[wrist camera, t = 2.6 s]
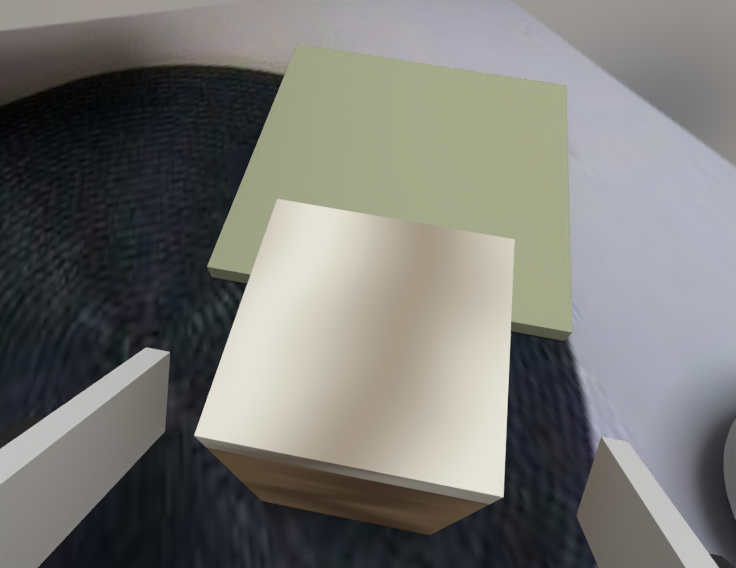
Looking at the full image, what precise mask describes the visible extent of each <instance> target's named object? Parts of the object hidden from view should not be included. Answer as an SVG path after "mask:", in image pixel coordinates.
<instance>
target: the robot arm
mask: <svg viewBox="0 0 736 568" xmlns="http://www.w3.org/2000/svg"><path fill="white" fill-rule="evenodd" d="M169 362H170V352H167V351H162V350H157V349H152V348H145V349H143V350H142V351H140V352H139V353H138V354H136V355H135V356H133V357H132V358H130V359H129V360H128V361H126V362H125V363H123V364H122V365H120V366H119V367H117V368H116V369H115V370H113V371H112V372H110V373H109V374H107V375H106V376H104V377H103V378H102V379H100V380H99V381H97V382H96V383H94V384H93V385H92V386H90V387H89V388H87V389H86V390H84V391H83V392H81V393H80V394H79V395H77V396H76V397H74V398H73V399H71V400H70V401H68V402H67V403H66V404H64V405H63V406H61V407H60V408H58V409H57V410H56V411H54V412H53V413H51V414H50V415H48V416H47V417H45V418H42V417H37V416H33V417H30V418H28V419H25V420H22V421H20V422H17V423H14V424H12V425H10V426H8V427H7V428H5V429H4V430H2V431H1V432H0V568H38V567H39V566H40V564H41V563H42V562H43V561H44V560H45V559H46V558H47V557H48V556H49V555H50V554H51V553H52V552H53V551H54V549H55V548H56V547H57V546H58V545H59V544H60V543H61V542H62V541H63V540H64V539H65V538H66V537H67V536H68V534H69V533H70V532H71V531H72V530H73V529H74V528H75V527H76V526H77V525H78V524H79V523H80V522H81V521H82V519H83V518H84V517H85V516H86V515H87V514H88V513H89V512H90V511H91V510H92V509H93V508H94V507H95V506H96V504H97V503H98V502H99V501H100V500H101V499H102V498H103V497H104V496H105V495H106V494H107V493H108V492H109V491H110V489H111V488H112V487H113V486H114V485H115V484H116V483H117V482H118V481H119V480H120V479H121V478H122V477H123V476H124V474H125V473H126V472H127V471H128V470H129V469H130V468H131V467H132V466H133V465H134V464H135V463H136V462H137V461H138V459H139V458H140V457H141V456H142V455H143V454H144V453H145V452H146V451H147V450H148V449H149V448H150V447H151V446H152V444H153V443H154V442H155V441H156V440H157V439H158V438H159V437H160V436H161V435H162V434H163V433H164V432H165V422H166V407H167V392H168V377H169ZM577 518H578V520H579V523H580V525H581V527H582V530H583V532H584V534H585V537H586V539H587V541H588V544H589V546H590V548H591V551H592V553H593V555H594V557H595V560H596V562H597V564H598V567H599V568H735V567H734V566H733V565H731V564H730V563H729V562H728V561H727V560H726V559H724V558H723V557H722V556H718V555H713V554H709V553H708V552H707V550H706V549H705V548H704V546H703V545H702V543H701V542H700V541H699V539H698V538H697V537H696V535H695V534H694V532H693V531H692V530H691V528H690V527H689V526H688V524H687V523H686V521H685V520H684V519H683V517H682V516H681V514H680V513H679V512H678V510H677V509H676V508H675V506H674V505H673V503H672V502H671V501H670V499H669V498H668V496H667V495H666V494H665V492H664V491H663V490H662V488H661V487H660V485H659V484H658V483H657V481H656V480H655V479H654V477H653V476H652V474H651V473H650V472H649V470H648V469H647V467H646V466H645V465H644V463H643V462H642V461H641V459H640V458H639V456H638V455H637V454H636V452H635V451H634V449H633V448H632V447H631V445H630V444H629V443H628V442H627V441H621V440H616V439H611V438H606V437H601V439H600V443H599V446H598V449H597V452H596V455H595V458H594V462H593V465H592V468H591V471H590V474H589V477H588V481H587V484H586V487H585V490H584V493H583V497H582V500H581V503H580V506H579V509H578V512H577Z"/></svg>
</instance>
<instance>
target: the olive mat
mask: <svg viewBox="0 0 736 568" xmlns="http://www.w3.org/2000/svg"><path fill="white" fill-rule="evenodd" d="M277 199H282V200H288V201H294V202H299V203H305V204H311V205H317V206H323V207H329V208H334V209H340V210H346V211H352V212H358V213H364V214H369V215H375V216H381V217H387V218H393V219H399V220H404V221H410V222H416V223H422V224H428V225H434V226H439V227H445V228H451V229H457V230H463V231H469V232H474V233H480V234H486V235H492V236H498V237H504V238H509V239H515V245H514V268H513V291H512V313H511V331H512V332H518V333H523V334H529V335H535V336H540V337H546V338H551V339H557V340H562V341H565V339H566V338H567V337H568V336H569V335H570V334H571V333H572V309H571V265H570V222H569V179H568V136H567V92H566V85H560V84H553V83H547V82H540V81H534V80H527V79H521V78H514V77H508V76H501V75H495V74H488V73H482V72H475V71H469V70H462V69H456V68H449V67H443V66H436V65H430V64H423V63H417V62H410V61H404V60H397V59H391V58H384V57H378V56H371V55H365V54H358V53H352V52H345V51H339V50H332V49H326V48H319V47H313V46H306V45H300V44H297V46H296V49H295V51H294V53H293V56H292V58H291V61H290V63H289V66H288V68H287V71H286V73H285V76H284V78H283V81H282V83H281V86H280V88H279V90H278V93H277V95H276V98H275V100H274V103H273V105H272V108H271V110H270V113H269V115H268V118H267V120H266V123H265V125H264V128H263V130H262V132H261V135H260V137H259V140H258V142H257V145H256V147H255V150H254V152H253V155H252V157H251V160H250V162H249V165H248V167H247V170H246V172H245V174H244V177H243V179H242V182H241V184H240V187H239V189H238V192H237V194H236V197H235V199H234V202H233V204H232V207H231V209H230V211H229V214H228V216H227V219H226V221H225V224H224V226H223V229H222V231H221V234H220V236H219V239H218V241H217V244H216V246H215V249H214V251H213V253H212V256H211V258H210V261H209V263H208V266H207V268H208V270H209V272H210V274H211V277H214V278H220V279H225V280H231V281H236V282H242V283H248V281H249V278H250V275H251V272H252V269H253V266H254V263H255V261H256V258H257V255H258V252H259V249H260V246H261V243H262V241H263V238H264V235H265V232H266V229H267V226H268V223H269V221H270V218H271V215H272V212H273V209H274V206H275V204H276V201H277Z"/></svg>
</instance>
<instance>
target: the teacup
mask: <svg viewBox="0 0 736 568" xmlns="http://www.w3.org/2000/svg"><path fill="white" fill-rule="evenodd" d="M724 480H725V486H726V492H727V496H728V499H729V503H730V506H731V509H732V512H733V515H734V518H735V520H736V418H735V420H734V422H733V423H732V425H731V428H730V431H729V434H728V437H727V440H726V444H725V449H724Z"/></svg>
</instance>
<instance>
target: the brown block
mask: <svg viewBox="0 0 736 568" xmlns="http://www.w3.org/2000/svg"><path fill="white" fill-rule="evenodd" d="M514 245H515V239H509V238H504V237H498V236H492V235H486V234H480V233H474V232H469V231H463V230H457V229H451V228H445V227H439V226H434V225H428V224H422V223H416V222H410V221H404V220H399V219H393V218H387V217H381V216H375V215H369V214H364V213H358V212H352V211H346V210H340V209H334V208H329V207H323V206H317V205H311V204H305V203H299V202H294V201H288V200H282V199H277V201H276V204H275V206H274V209H273V212H272V215H271V218H270V221H269V223H268V226H267V229H266V232H265V235H264V238H263V241H262V243H261V246H260V249H259V252H258V255H257V258H256V261H255V263H254V266H253V269H252V272H251V275H250V278H249V281H248V283H247V286H246V289H245V292H244V295H243V298H242V300H241V303H240V306H239V309H238V312H237V315H236V318H235V320H234V323H233V326H232V329H231V332H230V335H229V338H228V340H227V343H226V346H225V349H224V352H223V355H222V358H221V360H220V363H219V366H218V369H217V372H216V375H215V378H214V380H213V383H212V386H211V389H210V392H209V395H208V397H207V400H206V403H205V406H204V409H203V412H202V415H201V417H200V420H199V423H198V426H197V429H196V432H195V435H194V436H195V437H196V438H197V439H198V440H199V441H200V442H201V443H202V444H203V445H204V446H205V447H206V448H207V449H208V450H209V451H210V452H212V453H213V454H214V455H215V456H216V457H217V458H218V459H219V460H220V461H221V462H222V463H223V464H224V465H225V466H226V467H227V468H228V469H229V470H230V471H231V472H232V473H233V474H234V475H235V476H236V477H237V478H238V479H239V480H240V481H241V482H242V483H244V484H245V485H246V486H247V487H248V488H249V489H250V490H251V491H252V492H253V493H254V494H255V495H256V496H257V497H258V498H259V499H260V500H261V501H265V502H270V503H275V504H279V505H284V506H289V507H294V508H299V509H304V510H309V511H314V512H319V513H323V514H328V515H333V516H338V517H343V518H348V519H353V520H358V521H363V522H367V523H372V524H377V525H382V526H387V527H392V528H397V529H402V530H407V531H412V532H416V533H421V534H426V535H431V534H433V533H435V532H437V531H439V530H441V529H443V528H445V527H447V526H448V525H450V524H452V523H454V522H456V521H458V520H460V519H462V518H464V517H466V516H468V515H470V514H472V513H474V512H476V511H478V510H479V509H481V508H483V507H485V506H487V505H489V504H491V503H493V502H495V501H497V500H499V499H501V498H503V496H504V473H505V450H506V427H507V404H508V382H509V359H510V336H511V313H512V291H513V268H514Z"/></svg>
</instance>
